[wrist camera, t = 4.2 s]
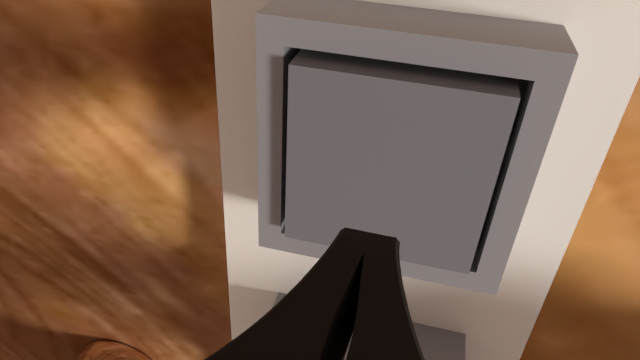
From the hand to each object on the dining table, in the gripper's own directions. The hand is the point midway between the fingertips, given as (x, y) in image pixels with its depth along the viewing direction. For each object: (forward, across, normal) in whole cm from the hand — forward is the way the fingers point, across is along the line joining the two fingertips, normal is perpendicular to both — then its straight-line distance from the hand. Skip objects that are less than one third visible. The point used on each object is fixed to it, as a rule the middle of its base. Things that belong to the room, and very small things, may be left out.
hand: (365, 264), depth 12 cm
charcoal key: (+7, 0, 0) cm, 7 cm away
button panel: (+8, 0, +6) cm, 10 cm away
